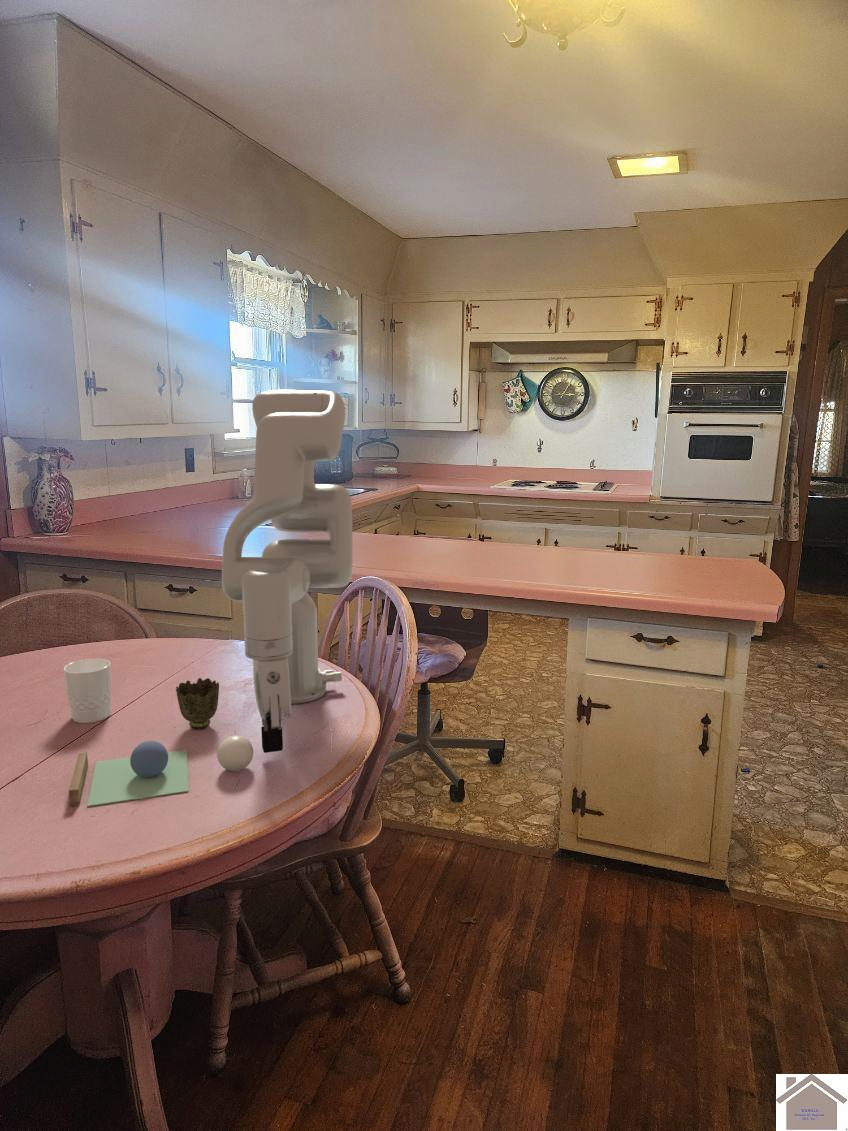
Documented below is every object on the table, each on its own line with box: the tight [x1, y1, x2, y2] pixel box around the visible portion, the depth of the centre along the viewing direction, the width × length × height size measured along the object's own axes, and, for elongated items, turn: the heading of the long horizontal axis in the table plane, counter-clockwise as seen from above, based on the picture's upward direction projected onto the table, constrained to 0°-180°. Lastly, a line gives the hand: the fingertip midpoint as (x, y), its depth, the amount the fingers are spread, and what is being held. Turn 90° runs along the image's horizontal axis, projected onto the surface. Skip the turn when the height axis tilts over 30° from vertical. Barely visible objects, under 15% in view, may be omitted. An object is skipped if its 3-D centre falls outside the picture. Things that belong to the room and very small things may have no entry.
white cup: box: [62, 657, 112, 724], centre depth 134 cm, size 8×8×10 cm
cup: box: [175, 677, 220, 731], centre depth 130 cm, size 8×7×8 cm
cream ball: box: [216, 734, 254, 772], centre depth 116 cm, size 6×6×6 cm
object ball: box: [130, 740, 169, 778], centre depth 113 cm, size 6×6×6 cm
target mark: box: [86, 749, 189, 808], centre depth 113 cm, size 14×14×1 cm
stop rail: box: [68, 752, 89, 807], centre depth 110 cm, size 1×12×2 cm, turn 19°
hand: (272, 749), depth 120 cm, fingers closed
